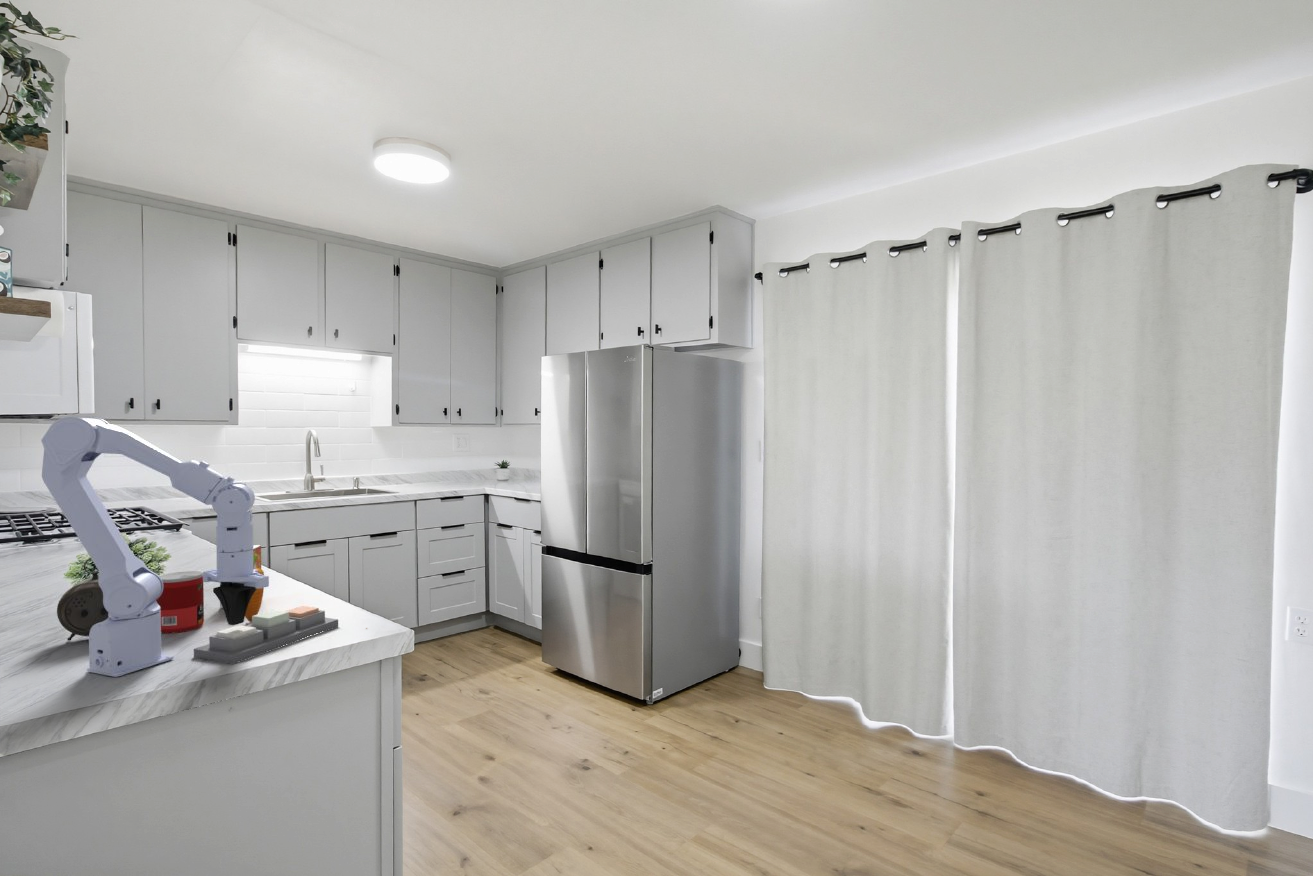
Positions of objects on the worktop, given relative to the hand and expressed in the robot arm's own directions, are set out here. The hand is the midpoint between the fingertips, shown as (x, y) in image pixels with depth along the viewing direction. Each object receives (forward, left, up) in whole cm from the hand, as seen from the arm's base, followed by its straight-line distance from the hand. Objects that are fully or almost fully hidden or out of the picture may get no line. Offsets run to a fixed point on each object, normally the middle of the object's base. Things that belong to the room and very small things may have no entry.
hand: (235, 623), depth 123 cm
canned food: (+7, +25, -6) cm, 26 cm away
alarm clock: (-4, +33, -6) cm, 34 cm away
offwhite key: (0, 0, -3) cm, 3 cm away
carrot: (+15, +15, -6) cm, 22 cm away
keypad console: (+7, 0, -5) cm, 9 cm away
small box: (+25, +31, -6) cm, 40 cm away
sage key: (+7, 0, -2) cm, 7 cm away
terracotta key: (+14, 0, -3) cm, 14 cm away
